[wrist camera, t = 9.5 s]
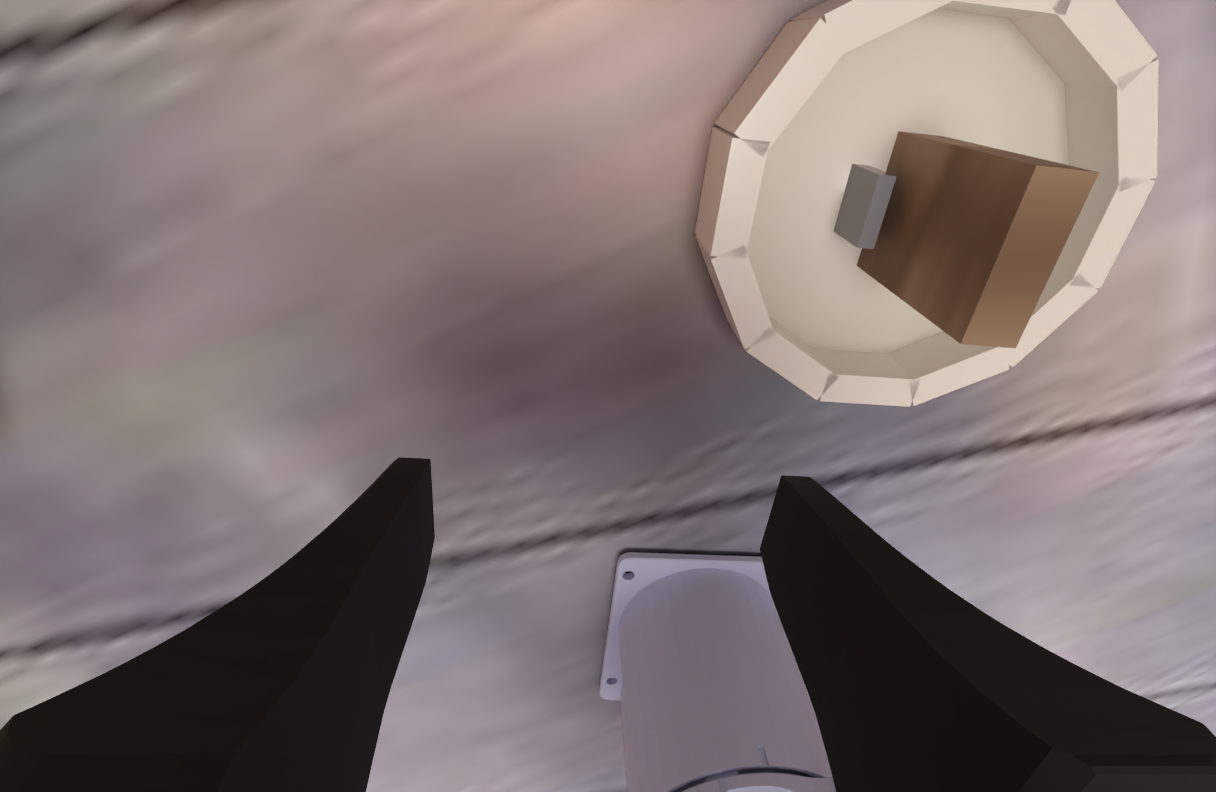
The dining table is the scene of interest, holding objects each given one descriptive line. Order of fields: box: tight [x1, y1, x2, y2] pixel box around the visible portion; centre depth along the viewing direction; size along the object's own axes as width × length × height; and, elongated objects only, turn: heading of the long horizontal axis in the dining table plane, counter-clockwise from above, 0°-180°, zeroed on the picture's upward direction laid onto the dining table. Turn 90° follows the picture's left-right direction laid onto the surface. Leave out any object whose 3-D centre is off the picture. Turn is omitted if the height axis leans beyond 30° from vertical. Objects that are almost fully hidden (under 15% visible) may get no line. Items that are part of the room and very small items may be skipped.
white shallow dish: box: [695, 0, 1158, 407], centre depth 18 cm, size 12×12×2 cm
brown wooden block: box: [857, 131, 1099, 348], centre depth 16 cm, size 4×1×6 cm, turn 174°
